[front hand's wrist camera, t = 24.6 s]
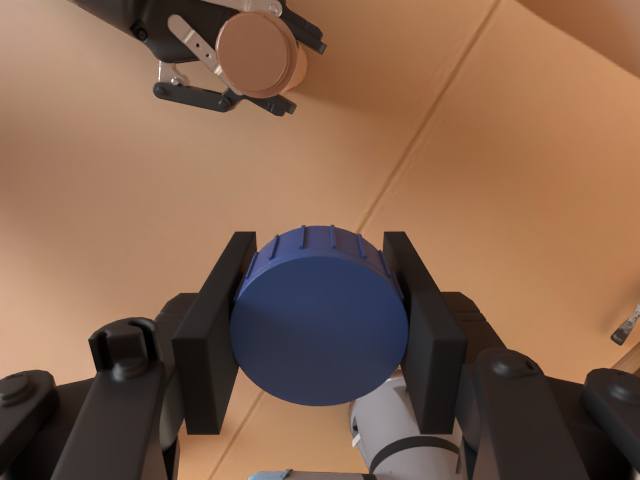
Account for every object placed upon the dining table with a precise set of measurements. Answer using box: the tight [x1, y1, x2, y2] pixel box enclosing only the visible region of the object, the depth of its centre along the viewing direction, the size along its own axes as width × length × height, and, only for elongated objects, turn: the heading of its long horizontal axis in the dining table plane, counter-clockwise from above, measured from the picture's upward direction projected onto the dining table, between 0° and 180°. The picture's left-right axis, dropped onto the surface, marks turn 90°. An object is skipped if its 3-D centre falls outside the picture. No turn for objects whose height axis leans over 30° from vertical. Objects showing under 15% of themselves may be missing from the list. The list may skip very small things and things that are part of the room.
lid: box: [230, 225, 409, 406], centre depth 11 cm, size 5×5×2 cm
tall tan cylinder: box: [215, 10, 308, 98], centre depth 27 cm, size 4×4×18 cm
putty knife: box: [611, 301, 640, 346], centre depth 45 cm, size 1×8×2 cm, turn 161°
